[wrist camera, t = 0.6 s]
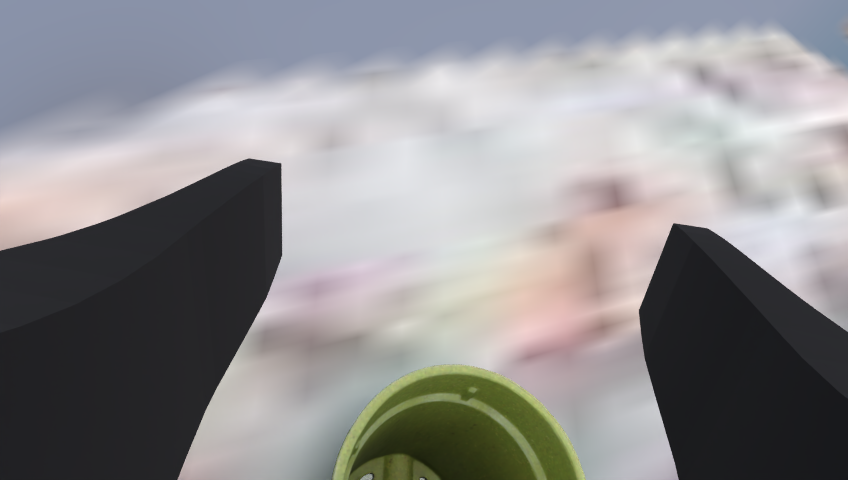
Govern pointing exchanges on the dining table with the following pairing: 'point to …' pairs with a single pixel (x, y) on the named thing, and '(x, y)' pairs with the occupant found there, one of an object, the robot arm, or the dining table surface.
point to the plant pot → (456, 431)
